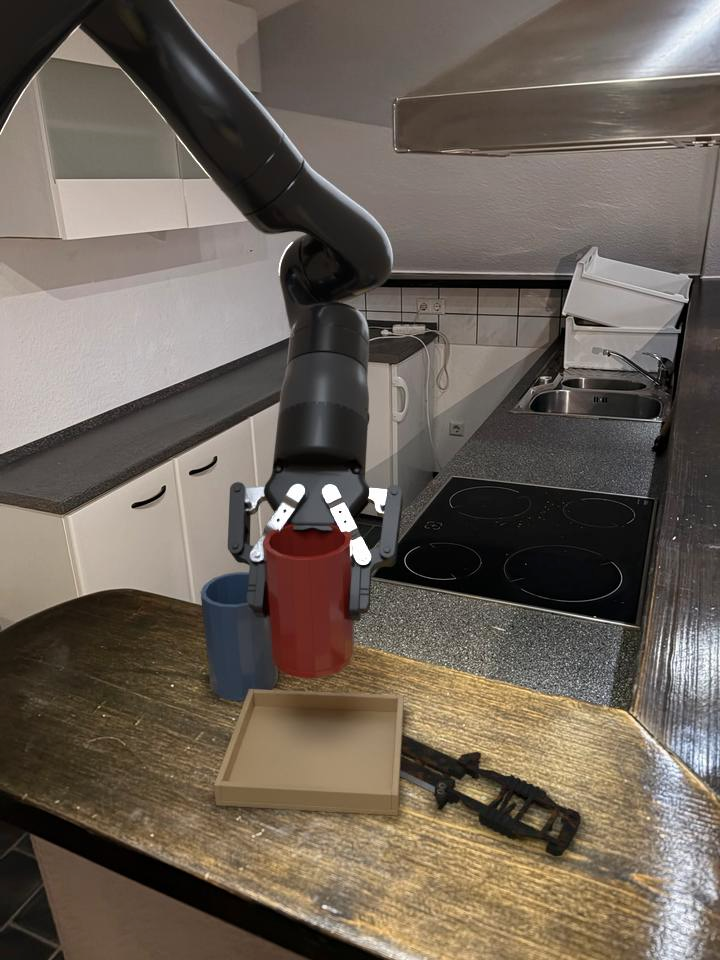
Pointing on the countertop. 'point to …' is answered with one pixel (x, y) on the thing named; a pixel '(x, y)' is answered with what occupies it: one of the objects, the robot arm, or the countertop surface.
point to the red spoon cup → (309, 600)
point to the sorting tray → (314, 753)
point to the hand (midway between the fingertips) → (307, 616)
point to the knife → (487, 813)
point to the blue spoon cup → (235, 639)
